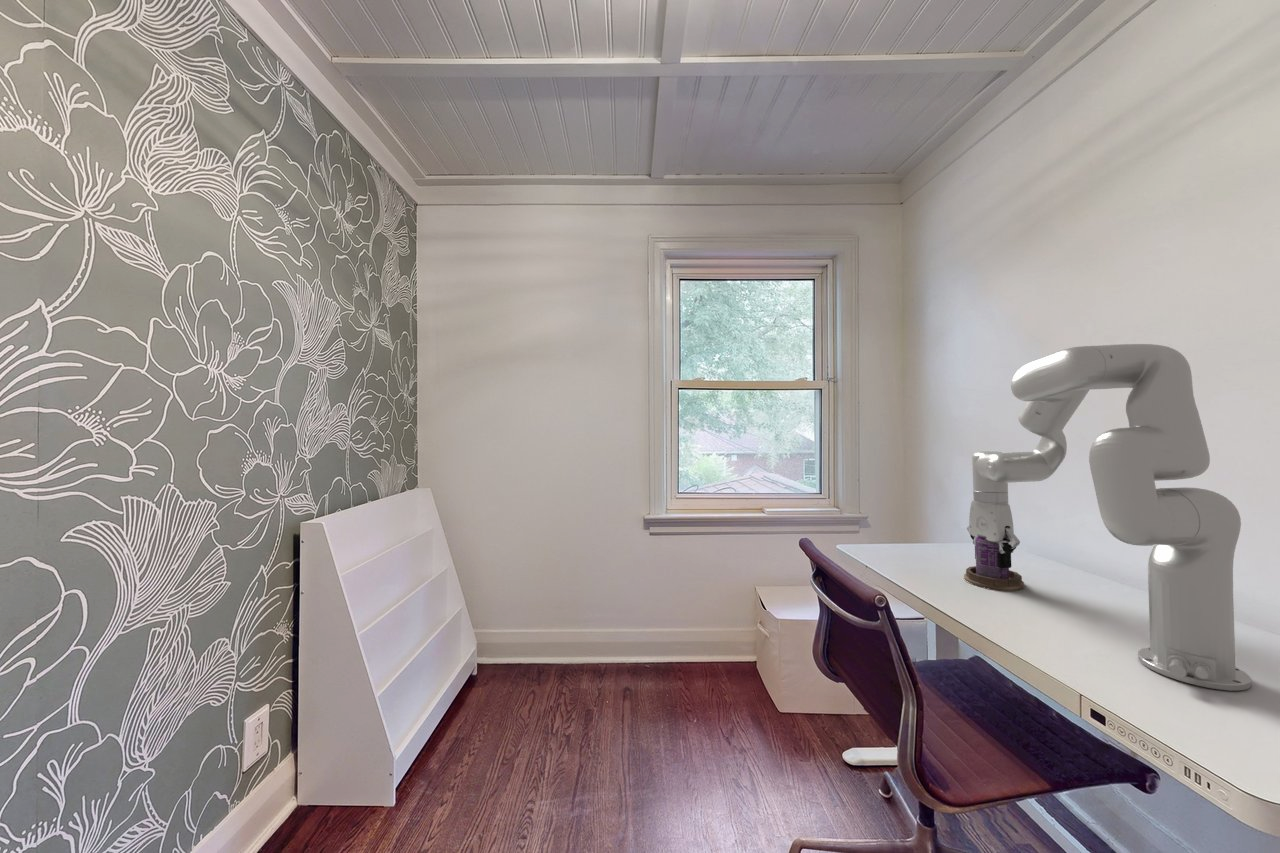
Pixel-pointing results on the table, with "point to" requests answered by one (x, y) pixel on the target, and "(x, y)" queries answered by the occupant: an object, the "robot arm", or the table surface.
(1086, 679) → the table surface
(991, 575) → the beverage can
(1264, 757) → the table surface
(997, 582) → the walnut coaster
